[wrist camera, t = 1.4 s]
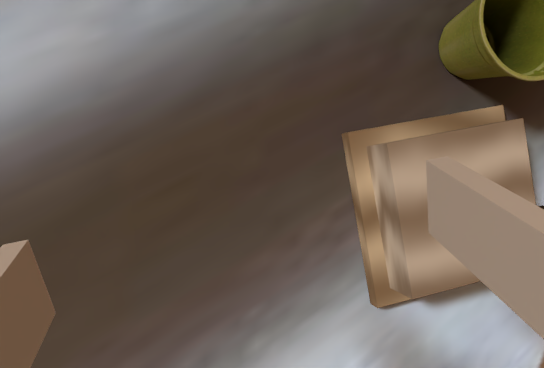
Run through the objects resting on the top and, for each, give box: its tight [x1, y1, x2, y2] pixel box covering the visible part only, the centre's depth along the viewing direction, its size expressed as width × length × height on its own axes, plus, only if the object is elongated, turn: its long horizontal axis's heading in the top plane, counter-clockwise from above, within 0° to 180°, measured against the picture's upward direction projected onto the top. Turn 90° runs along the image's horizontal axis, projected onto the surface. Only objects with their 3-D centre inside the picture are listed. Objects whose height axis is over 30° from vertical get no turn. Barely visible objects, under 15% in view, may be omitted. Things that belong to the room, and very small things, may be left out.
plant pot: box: [439, 0, 544, 81], centre depth 42 cm, size 9×9×9 cm
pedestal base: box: [342, 105, 536, 308], centre depth 43 cm, size 16×16×6 cm
